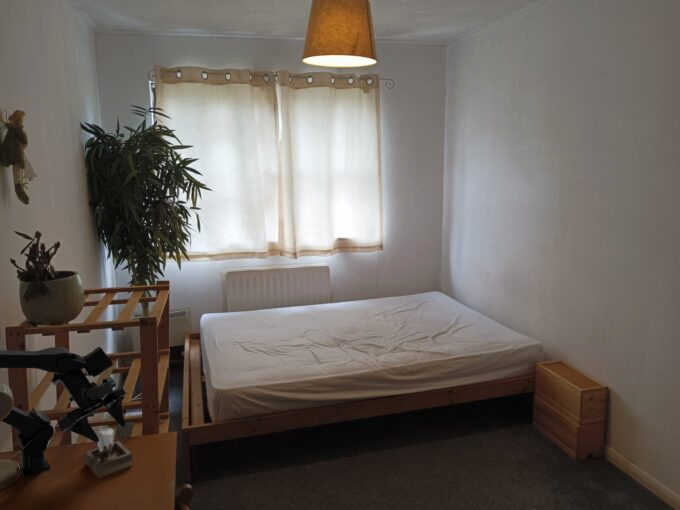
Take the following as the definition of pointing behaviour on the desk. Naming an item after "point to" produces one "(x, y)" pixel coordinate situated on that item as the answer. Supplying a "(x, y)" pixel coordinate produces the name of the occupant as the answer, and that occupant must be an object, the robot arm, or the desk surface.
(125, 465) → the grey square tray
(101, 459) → the milkshake
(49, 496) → the desk surface
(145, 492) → the desk surface
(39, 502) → the desk surface
